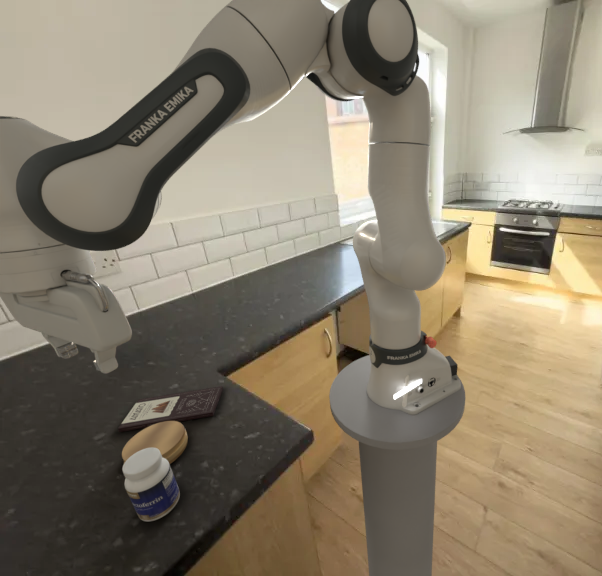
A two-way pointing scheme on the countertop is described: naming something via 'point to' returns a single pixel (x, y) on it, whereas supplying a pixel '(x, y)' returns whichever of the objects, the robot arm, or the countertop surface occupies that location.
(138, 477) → the pill bottle
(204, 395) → the chocolate bar
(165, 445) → the coaster pile
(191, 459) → the countertop surface
